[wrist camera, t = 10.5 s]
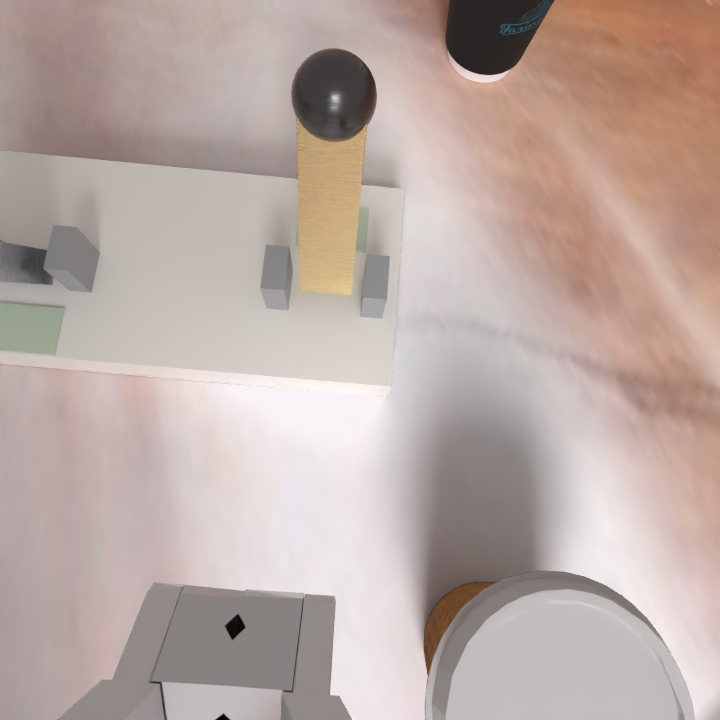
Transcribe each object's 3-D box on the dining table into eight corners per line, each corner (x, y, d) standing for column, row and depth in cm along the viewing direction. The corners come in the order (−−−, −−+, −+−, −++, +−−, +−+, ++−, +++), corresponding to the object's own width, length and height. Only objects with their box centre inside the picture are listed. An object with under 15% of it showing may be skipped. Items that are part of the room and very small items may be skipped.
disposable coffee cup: (357, 631, 31) (372, 705, 19) (488, 515, 33) (574, 518, 21) (475, 789, 29) (569, 973, 18) (605, 657, 31) (769, 745, 20)
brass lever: (356, 306, 31) (379, 81, 21) (291, 301, 30) (284, 72, 21) (359, 261, 33) (382, 36, 23) (299, 256, 33) (296, 28, 23)
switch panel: (386, 397, 34) (398, 374, 28) (-27, 361, 33) (-102, 330, 28) (398, 213, 37) (411, 159, 31) (20, 178, 36) (-38, 115, 31)
